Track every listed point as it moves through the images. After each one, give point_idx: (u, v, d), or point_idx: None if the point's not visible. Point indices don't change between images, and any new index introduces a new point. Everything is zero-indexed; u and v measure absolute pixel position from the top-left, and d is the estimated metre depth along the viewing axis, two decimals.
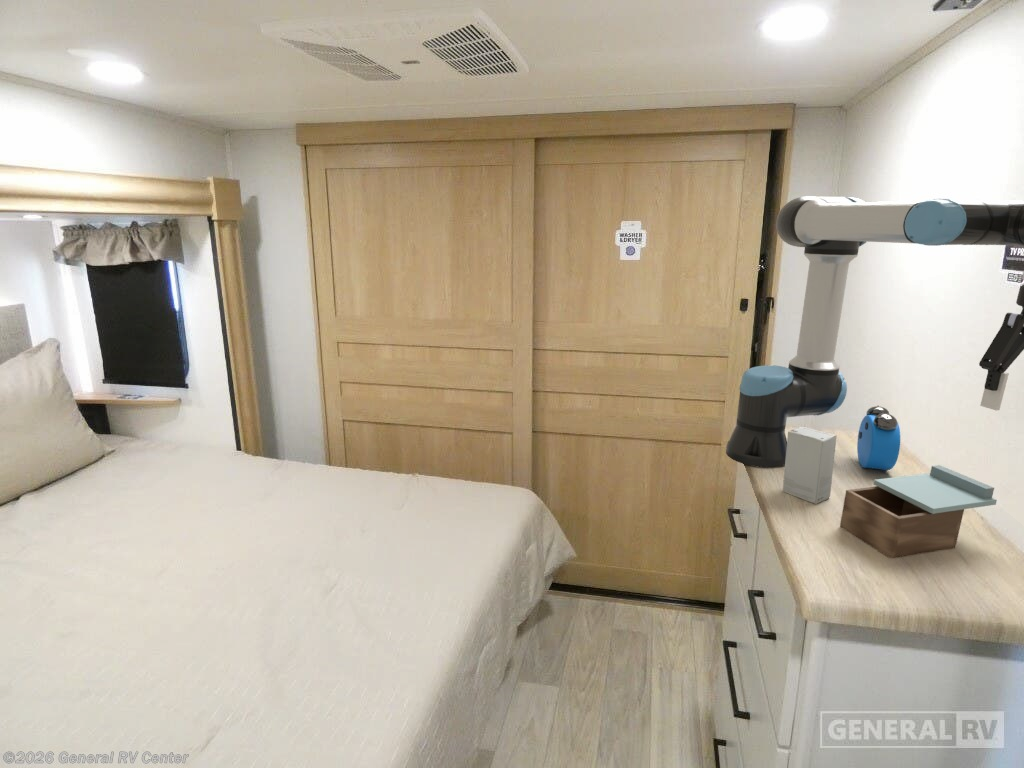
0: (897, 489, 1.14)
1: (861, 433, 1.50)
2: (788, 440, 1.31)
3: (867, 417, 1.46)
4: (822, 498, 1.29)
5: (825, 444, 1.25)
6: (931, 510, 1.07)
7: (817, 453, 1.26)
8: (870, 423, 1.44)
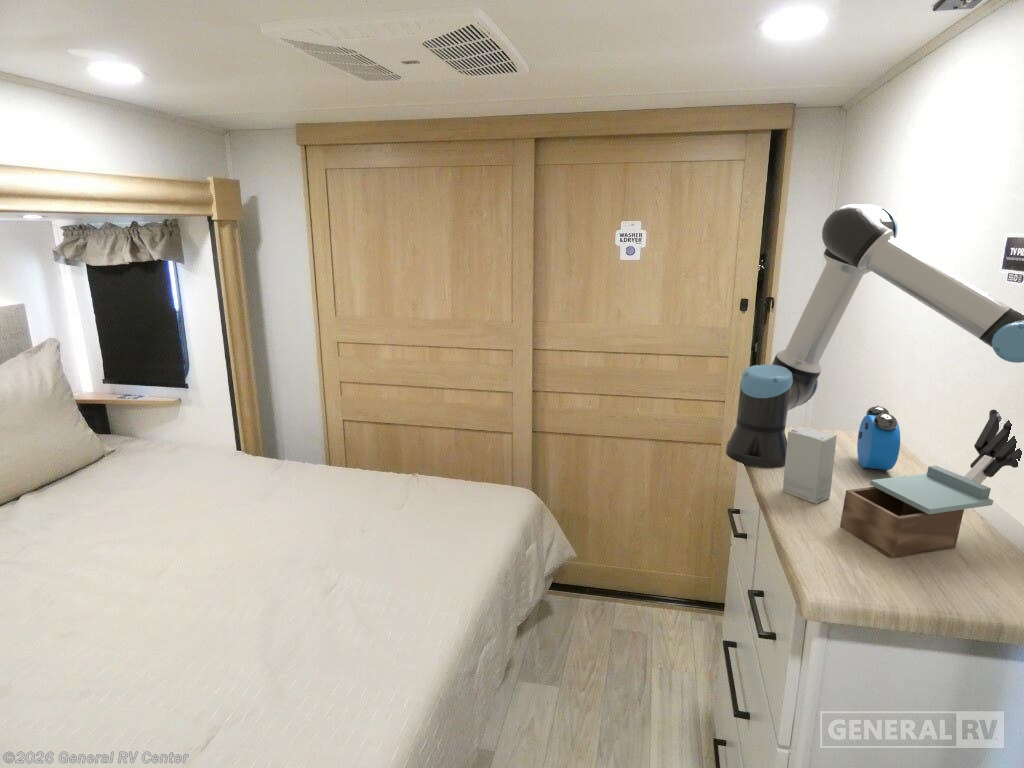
0: (894, 490, 1.14)
1: (861, 433, 1.50)
2: (788, 440, 1.31)
3: (867, 417, 1.46)
4: (822, 498, 1.29)
5: (825, 444, 1.25)
6: (927, 511, 1.07)
7: (817, 453, 1.26)
8: (870, 423, 1.44)
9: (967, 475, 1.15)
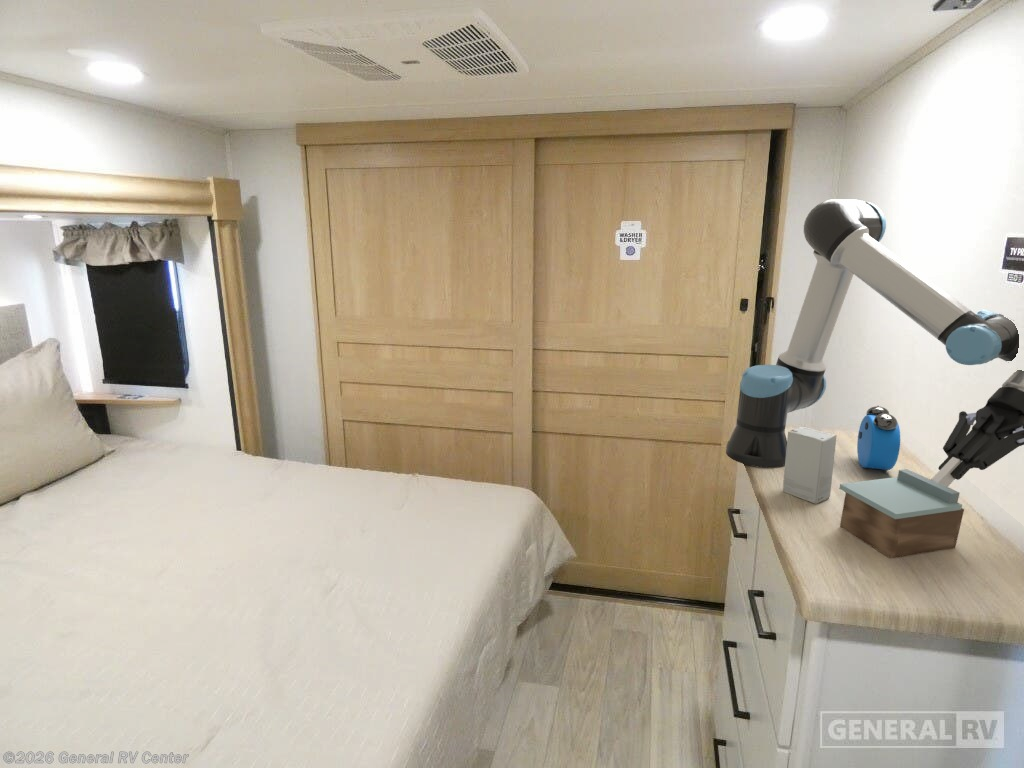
0: (862, 494, 1.12)
1: (861, 433, 1.50)
2: (788, 440, 1.31)
3: (867, 417, 1.46)
4: (822, 498, 1.29)
5: (825, 444, 1.25)
6: (894, 515, 1.05)
7: (817, 453, 1.26)
8: (870, 423, 1.44)
9: (935, 477, 1.14)
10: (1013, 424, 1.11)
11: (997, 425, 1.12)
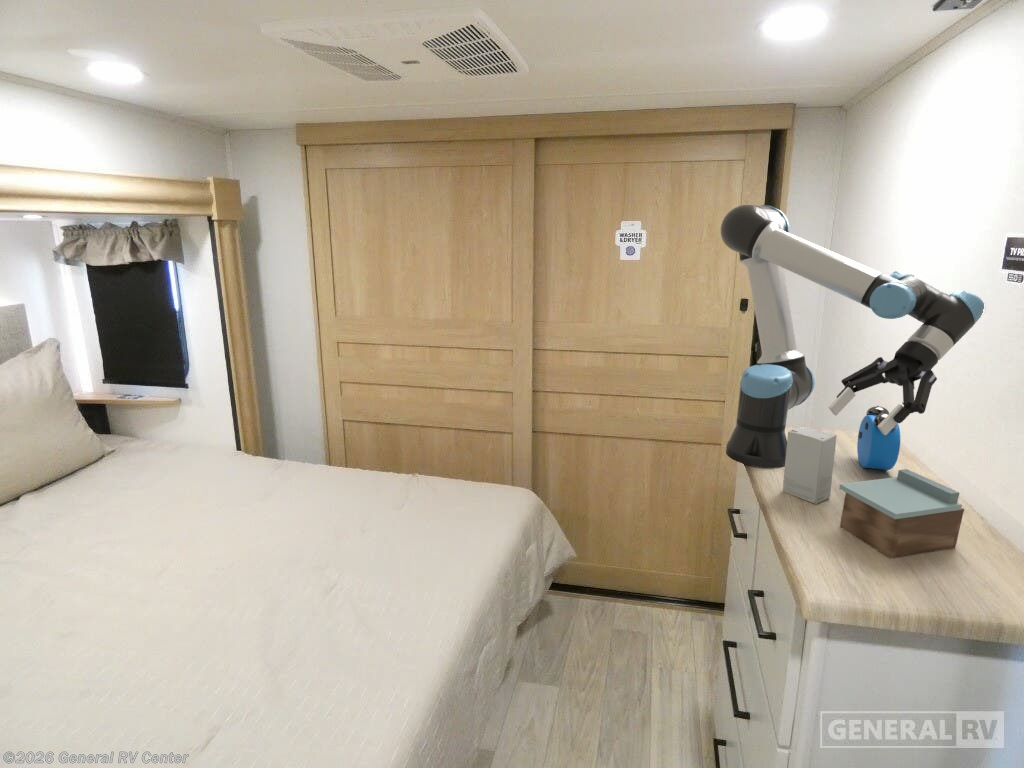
0: (862, 494, 1.12)
1: (861, 433, 1.50)
2: (788, 440, 1.31)
3: (867, 417, 1.46)
4: (822, 498, 1.29)
5: (825, 444, 1.25)
6: (894, 515, 1.05)
7: (817, 453, 1.26)
8: (870, 423, 1.44)
9: (832, 404, 1.37)
10: (915, 372, 1.27)
11: (906, 373, 1.28)
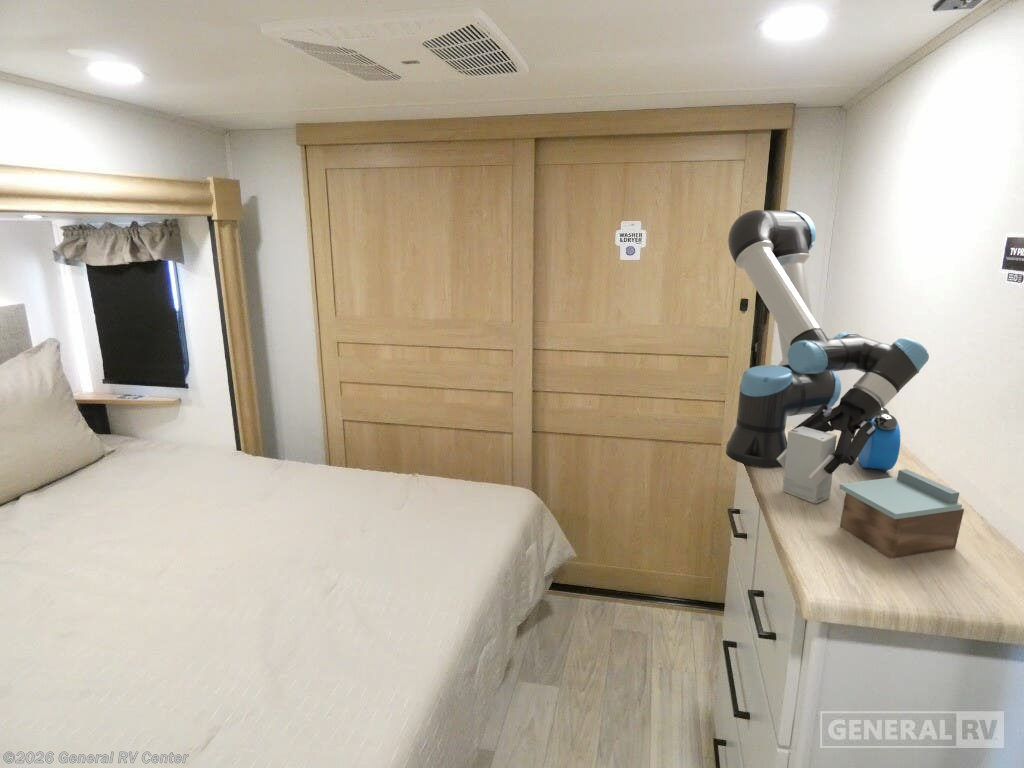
0: (862, 494, 1.12)
1: None
2: (788, 440, 1.31)
3: None
4: (822, 498, 1.29)
5: (825, 444, 1.25)
6: (894, 515, 1.05)
7: (817, 453, 1.26)
8: None
9: (780, 456, 1.34)
10: (857, 420, 1.26)
11: (847, 421, 1.27)
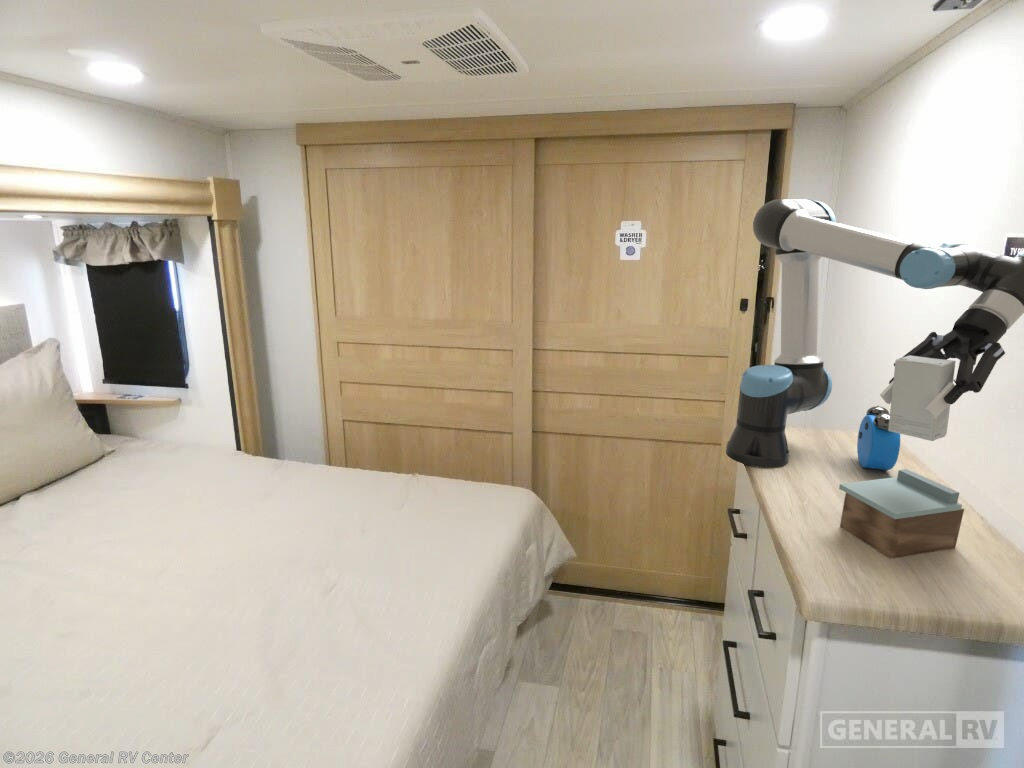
0: (862, 494, 1.12)
1: (861, 433, 1.50)
2: (896, 370, 1.14)
3: (867, 417, 1.46)
4: (939, 435, 1.11)
5: (945, 370, 1.08)
6: (894, 515, 1.05)
7: (934, 381, 1.08)
8: (870, 423, 1.44)
9: (885, 391, 1.17)
10: (980, 343, 1.09)
11: (967, 345, 1.10)
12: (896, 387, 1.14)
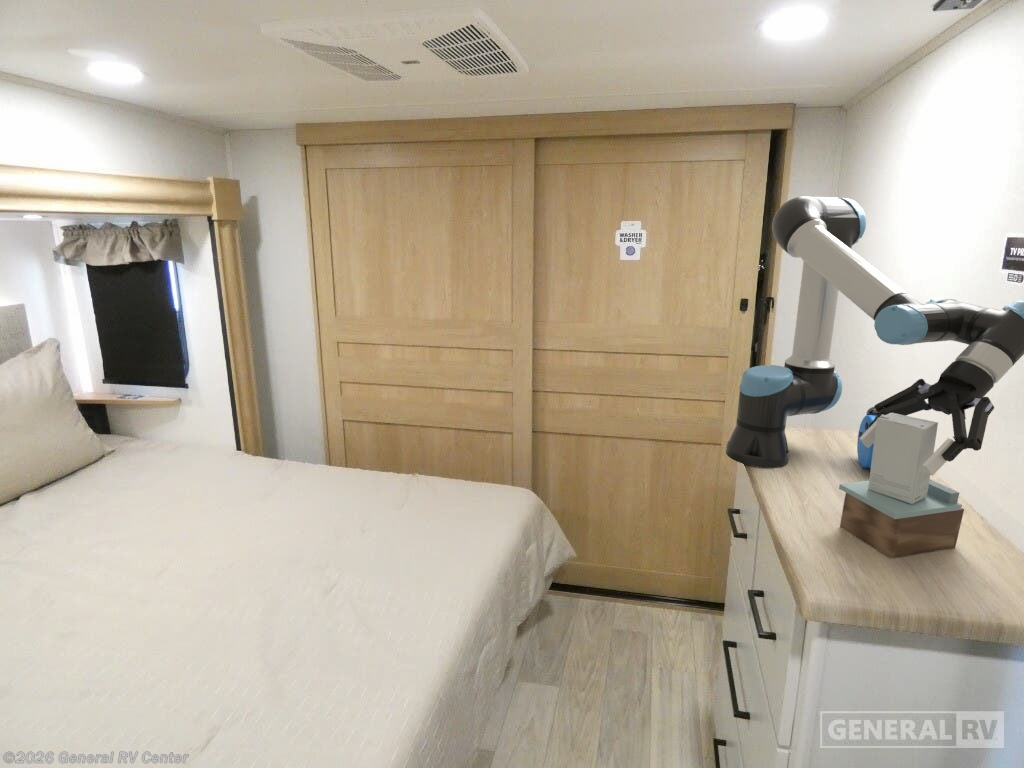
0: (862, 494, 1.12)
1: (861, 433, 1.50)
2: (877, 428, 1.11)
3: (867, 417, 1.46)
4: (919, 497, 1.09)
5: (926, 433, 1.05)
6: (894, 515, 1.05)
7: (915, 444, 1.05)
8: None
9: (864, 434, 1.15)
10: (967, 398, 1.05)
11: (955, 399, 1.06)
12: (877, 446, 1.11)
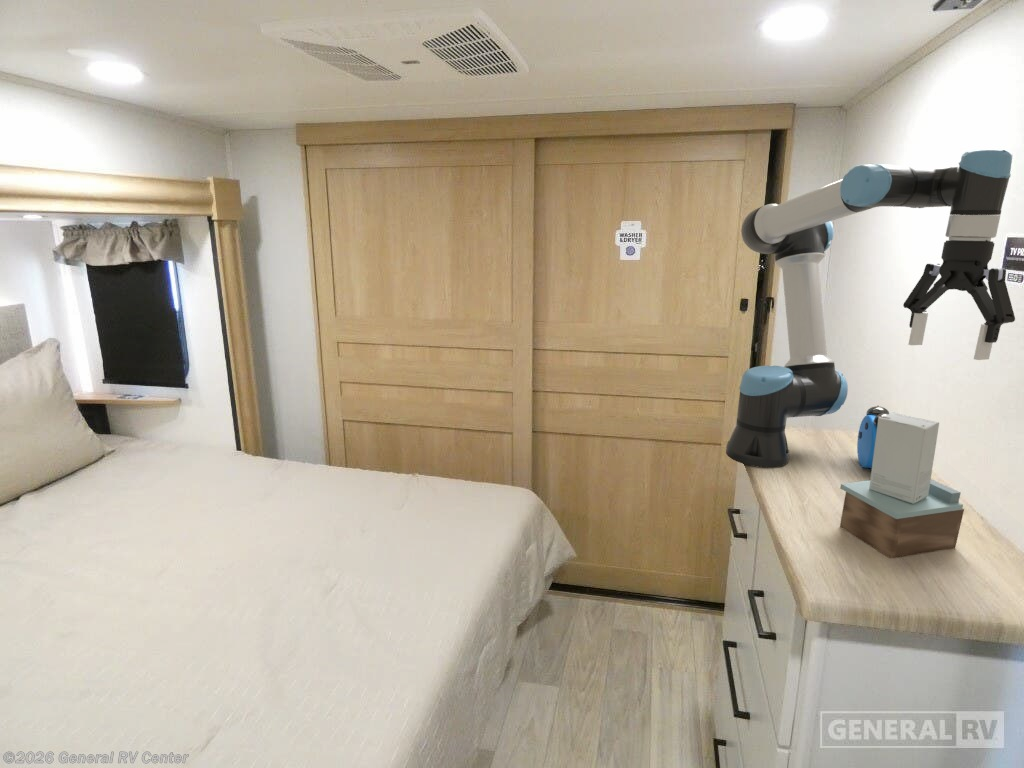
0: (863, 494, 1.12)
1: (861, 433, 1.50)
2: (878, 428, 1.11)
3: (867, 417, 1.46)
4: (920, 497, 1.09)
5: (928, 433, 1.05)
6: (895, 515, 1.05)
7: (917, 444, 1.05)
8: (870, 423, 1.44)
9: (910, 339, 1.21)
10: (977, 274, 1.08)
11: (967, 281, 1.09)
12: (878, 446, 1.11)
